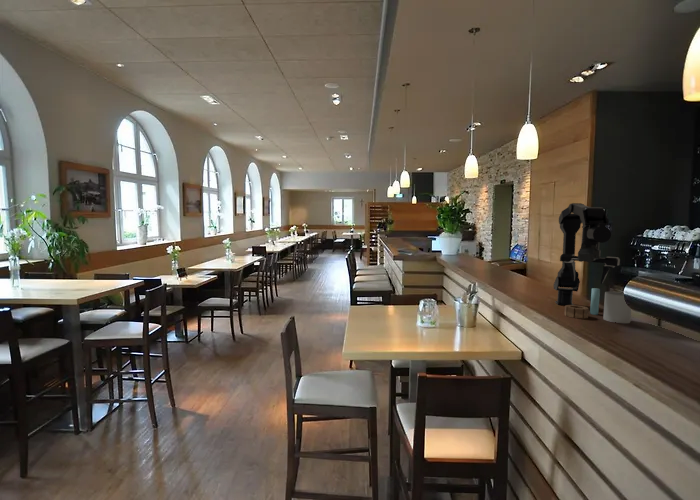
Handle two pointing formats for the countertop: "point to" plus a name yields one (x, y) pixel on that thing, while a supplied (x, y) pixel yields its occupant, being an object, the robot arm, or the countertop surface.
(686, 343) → the countertop surface
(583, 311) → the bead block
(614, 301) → the cup
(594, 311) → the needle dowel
